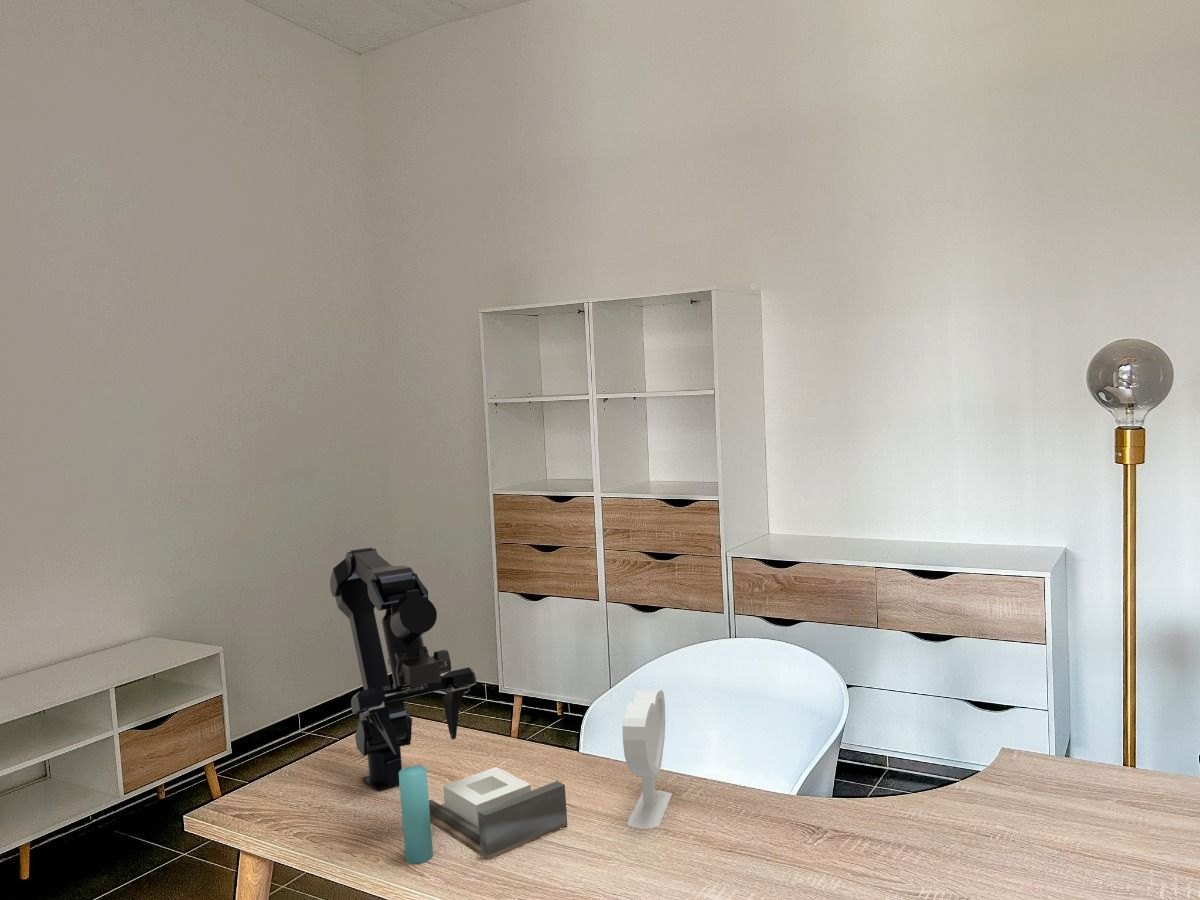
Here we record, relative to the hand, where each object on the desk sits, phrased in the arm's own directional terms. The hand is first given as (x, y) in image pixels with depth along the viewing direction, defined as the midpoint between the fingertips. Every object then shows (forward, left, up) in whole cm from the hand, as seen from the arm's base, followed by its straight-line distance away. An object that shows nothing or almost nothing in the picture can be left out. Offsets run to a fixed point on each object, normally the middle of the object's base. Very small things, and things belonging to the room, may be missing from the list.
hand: (425, 746), depth 147 cm
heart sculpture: (+18, +29, -14) cm, 37 cm away
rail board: (+3, +9, -14) cm, 17 cm away
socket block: (+2, +9, -13) cm, 16 cm away
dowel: (+5, -5, -14) cm, 16 cm away
